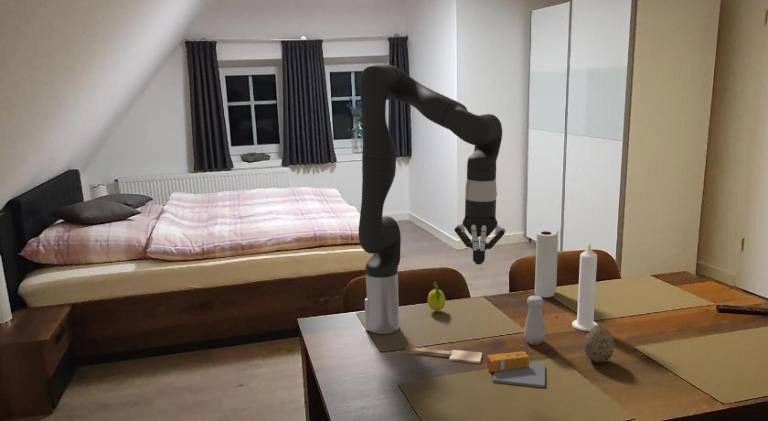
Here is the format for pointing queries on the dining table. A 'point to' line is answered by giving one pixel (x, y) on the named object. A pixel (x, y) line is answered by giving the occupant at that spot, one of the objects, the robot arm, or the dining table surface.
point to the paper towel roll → (546, 263)
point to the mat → (522, 376)
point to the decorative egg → (599, 344)
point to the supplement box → (507, 361)
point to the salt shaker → (534, 321)
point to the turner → (449, 354)
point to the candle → (586, 291)
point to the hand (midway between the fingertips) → (478, 263)
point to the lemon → (436, 299)
